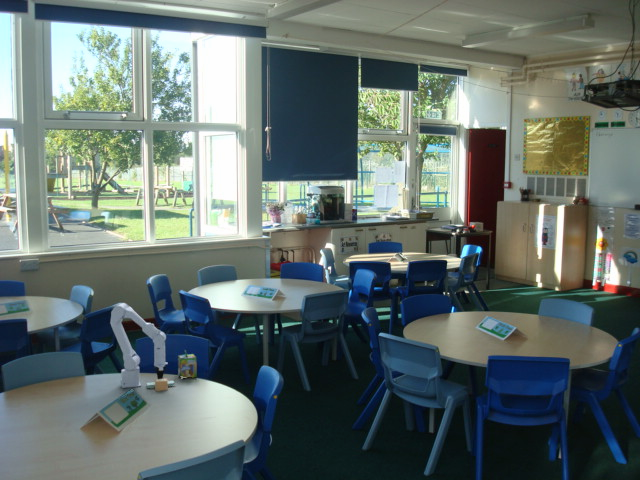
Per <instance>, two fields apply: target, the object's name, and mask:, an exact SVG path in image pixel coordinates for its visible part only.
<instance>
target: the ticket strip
mask: <svg viewBox="0 0 640 480" xmlns="http://www.w3.org/2000/svg"><path fill="white" fill-rule="evenodd" d="M167 381H168V386H172V387H174V386H175V381H174V380H167ZM145 385H147V386H146V389H147V388H150V389H155V388H154V387H155V381H153V382H146V384H145ZM173 385H174V386H173Z"/></svg>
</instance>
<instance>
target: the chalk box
mask: <svg viewBox="0 0 640 480" xmlns="http://www.w3.org/2000/svg"><path fill="white" fill-rule="evenodd" d="M184 353H185V354H180V355H179V354H178V355H177V367H178V368H177V371H178V372H177V374H178V377H179V376H183V377H192V379H194V378H198V372H197V371H198V369H197V367H198V366H197V356H196V354H194V353H191V354H190V353H189V354H188V353H187V350H186V349H184Z"/></svg>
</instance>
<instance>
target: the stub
mask: <svg viewBox="0 0 640 480" xmlns="http://www.w3.org/2000/svg"><path fill="white" fill-rule="evenodd" d="M168 381H169V380H168V379H167V377H166V378H165V377H163V379H158V378H155V379H154V382H155V388H154V390H155V392H160V391H168V389H169V387H168Z"/></svg>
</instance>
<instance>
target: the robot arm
mask: <svg viewBox="0 0 640 480" xmlns="http://www.w3.org/2000/svg"><path fill="white" fill-rule="evenodd" d="M110 313H111V314H110V315H111V316H110V322H109V324H110V325H111V328H112V329H111V330H112V331H113V333H114V335H115V339H116V340H117V343H118V345H119V347H120V350H121V352H122V359H123V367H124V368H123V369H121V373H120V374H121V377H120V378H121V380H120V384H121V388H122V389H124V388H134V387H141V385H142V384H141V381H140V366H139V365H140V363H141V357H140V356H139V355H138V354H137V353H136V351H135V350H134V349H133V347H132V345H131V342H130V340H129V338H128V335H127V333H126V331H125V328H124V326H123V323H122V322H123V320H124V319H131V320H132V321H133V322H134V323H135V324H137V325H138V326H139V327H140V328H141V329H142V330H141V331H142V332H143V333H144V334H145V335H146V336H148V337H149V338H150V339H151V340H152V343H153V345H154V346H153V348H154V349H153V351H154V352H153V353H154V355H153V357H154V363H153V366H154V371H155V373H156V376H157V378H156V379H164V373H165V371H166V369H167V368H166V366H167V365H168V364H169V363H168V362H166V340H167V335H166V333H165V332H164V331H161V329H158V328H157V327H156V326H155V324H154V323H151V322H147V321H146V320H144V318H142V317H141V316H140V315H139V314H138V313H137V312H136V311H135V310H134V309H133V307H131V306H129V304H127V303H126V302H121V303H119V304H118V305H116V306H114V307H113V309H112V310H111V312H110Z"/></svg>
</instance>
